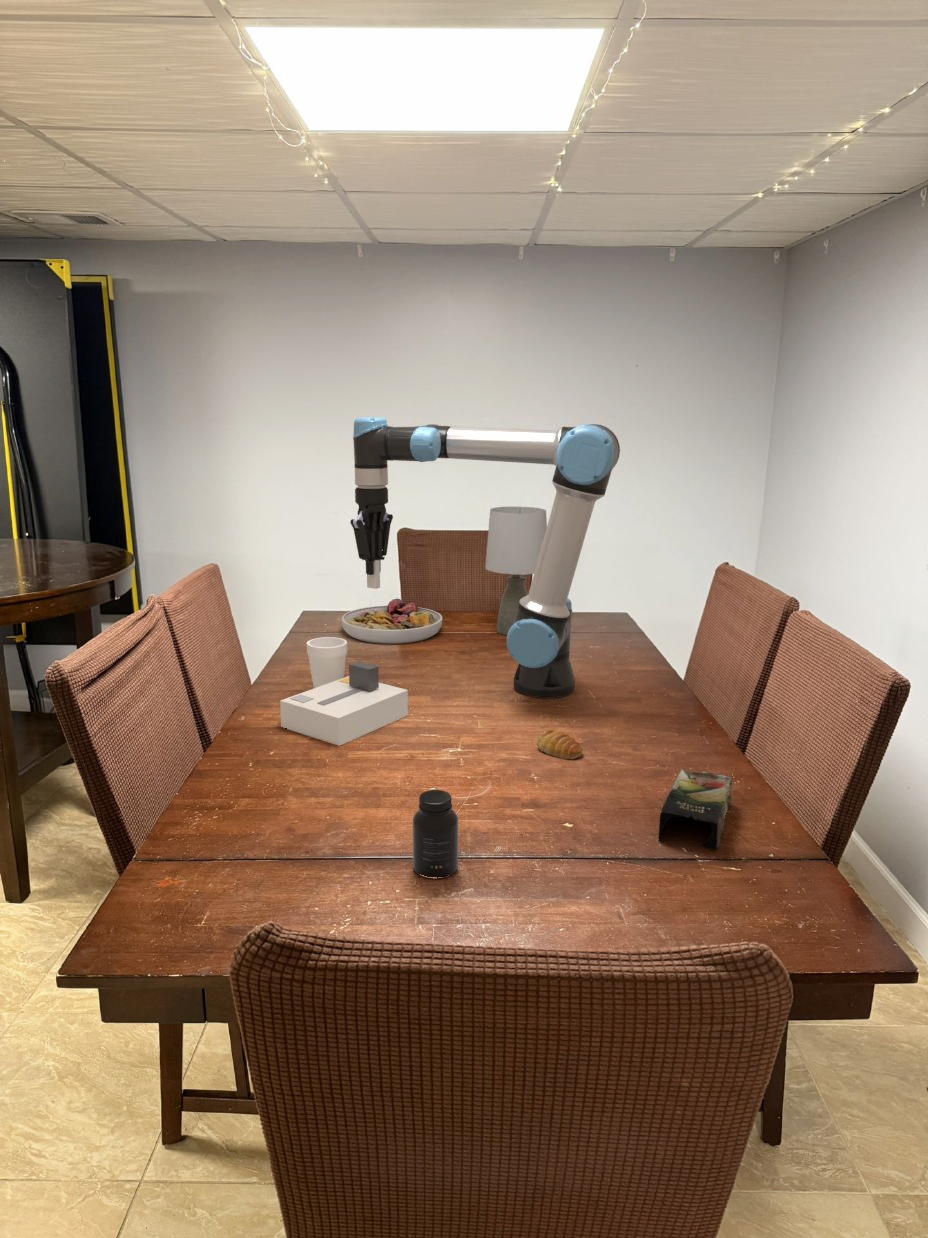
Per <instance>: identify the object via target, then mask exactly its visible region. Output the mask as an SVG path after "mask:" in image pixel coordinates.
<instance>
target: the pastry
mask: <svg viewBox="0 0 928 1238" xmlns="http://www.w3.org/2000/svg"><path fill="white" fill-rule="evenodd" d="M536 746H537V748H538V749H539V750H540V752H544V753H545V754H547V755H549V756H553V757H554V758H555V757H556V758H559V759H564V760H565V759H566V760H568V759H569V760H573V759H576V758H579V757H581V755H582V754H583V748H582V746H581V745H580V743H579V742H578V741H576V739H575V738H573V737H571V736H570V734H568V733H564V731H560V730H559V731H556V730H554V729H550V728H549V729H545V730H544V731H543V732H542V733H541V734H540V735H539V736H538V739H537V741H536Z"/></svg>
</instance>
